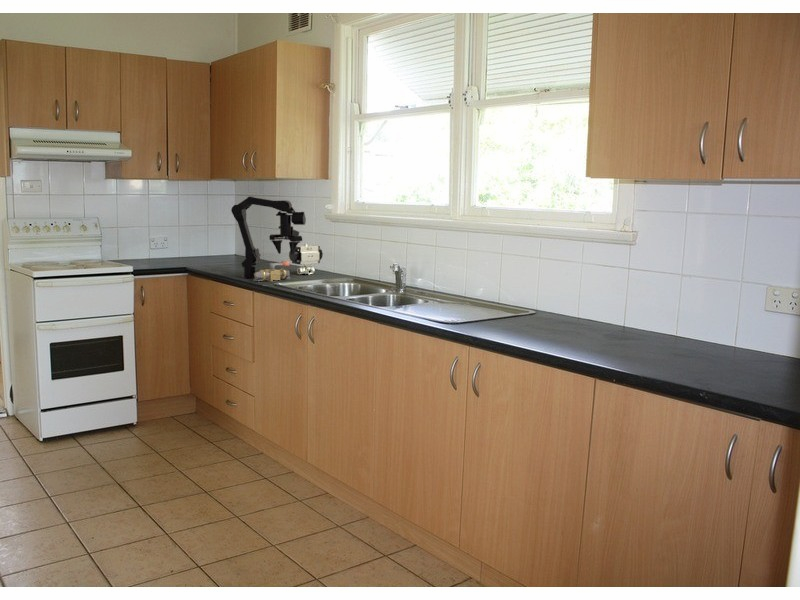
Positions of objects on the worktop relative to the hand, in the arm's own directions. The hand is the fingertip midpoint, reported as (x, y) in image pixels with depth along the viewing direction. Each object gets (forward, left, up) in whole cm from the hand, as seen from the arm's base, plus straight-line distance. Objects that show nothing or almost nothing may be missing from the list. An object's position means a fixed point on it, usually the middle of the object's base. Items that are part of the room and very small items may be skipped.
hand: (285, 254), depth 381 cm
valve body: (-1, -8, -13) cm, 16 cm away
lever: (0, -4, -7) cm, 9 cm away
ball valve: (-9, +21, -14) cm, 26 cm away
